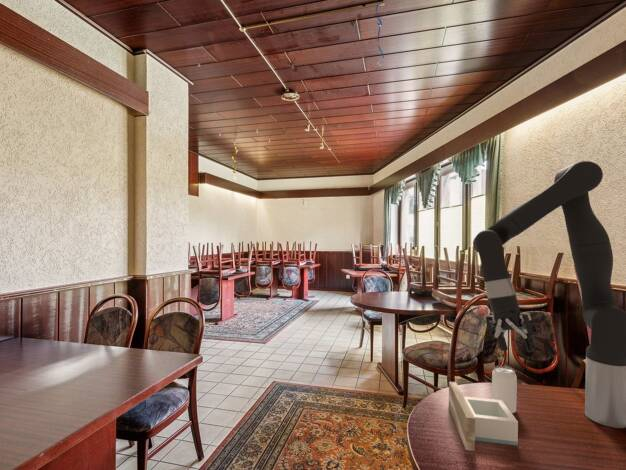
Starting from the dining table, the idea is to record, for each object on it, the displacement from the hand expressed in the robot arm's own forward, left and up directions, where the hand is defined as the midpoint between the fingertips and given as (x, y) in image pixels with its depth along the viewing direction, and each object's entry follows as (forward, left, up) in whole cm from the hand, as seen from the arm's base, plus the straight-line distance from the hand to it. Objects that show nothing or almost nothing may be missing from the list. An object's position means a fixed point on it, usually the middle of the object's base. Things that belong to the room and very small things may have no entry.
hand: (517, 351), depth 96 cm
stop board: (+17, +9, -19) cm, 27 cm away
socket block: (+10, +9, -19) cm, 24 cm away
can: (+2, -4, -20) cm, 20 cm away
